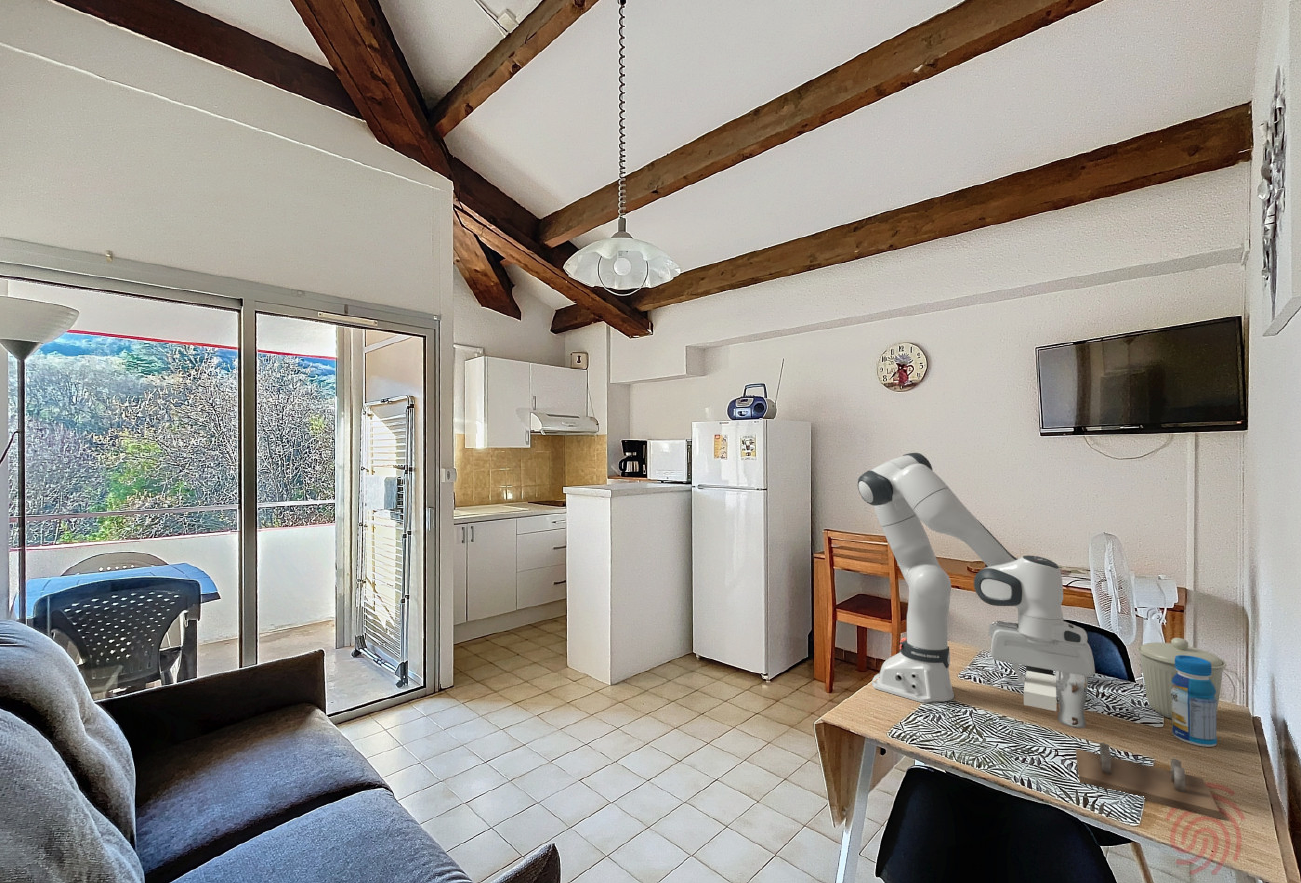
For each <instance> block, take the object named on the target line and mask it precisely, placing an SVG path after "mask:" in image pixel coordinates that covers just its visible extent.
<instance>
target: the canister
mask: <svg viewBox="0 0 1301 883" xmlns="http://www.w3.org/2000/svg"><path fill="white" fill-rule="evenodd" d="M1136 651H1137V652H1138V653H1139V656H1140V663H1141V670H1142V676H1143V683H1144V689H1145V695H1146V700H1147V702H1148V704H1149V707H1150V708H1151V709H1152V710H1153V711H1154V710H1155V711H1154V712H1155V713H1157V712H1158V713H1157V714H1159V715H1161V716H1163V717H1166V718H1168V719H1170V720H1172V697H1171V690H1172V688H1173V685H1172V684H1171V681H1172V678H1173V677H1174V675H1175V674H1176V673H1177V672H1178V671H1177V670H1176V668H1175V657H1176V656H1178V655H1186V656H1193V657H1198V658H1202V659H1205V660H1207V661H1209V662H1210V663H1211V665H1212V674H1211V676H1210V677H1208V678H1209V679H1210V680H1211V682H1212V683H1213V685H1214V687H1215V689H1216V694H1215V695H1214V696H1215V698H1216V700H1217V706H1216V714H1217V713H1218V711H1217V710H1218V708H1219V702H1220V700H1219V699H1220V694H1221V686H1222V678H1223V671H1224V669H1225V668H1226V667H1227V662H1226V660H1224V659H1222V658H1220V657H1219V656H1217V655H1215V654H1214V653H1212V652H1209V651H1207V650H1203V649H1201V648H1198V647H1193V646H1189V642H1188V641H1187V640H1186V639H1184V638H1181V637H1174V638H1172V639H1171V640H1170V642H1157V641H1156V642H1148V643H1144V644H1141V645H1139V646H1137V647H1136Z"/></svg>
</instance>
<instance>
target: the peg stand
mask: <svg viewBox="0 0 1301 883" xmlns="http://www.w3.org/2000/svg"><path fill="white" fill-rule="evenodd" d="M1099 751H1100V752H1099V753H1096V752H1091V751H1087V750H1083V749H1080V748H1079V749H1078V748H1076V749H1075V757H1076V758H1077V759H1076V765H1078V766H1077V772H1078V781H1080V782H1079V784H1082V783H1086V784H1091V785H1094V786H1098V787H1102V788H1104V789H1103V790H1105V789H1112V790H1116V791H1121V792H1125V793H1129V794H1133V795H1138V796H1144V798H1145V799H1146V800H1145V801H1148V802H1151V803H1156V804H1160V805H1164V806H1168V807H1171V808H1174V809H1175V808H1176V809H1179V810H1181V811H1182V810H1183V811H1187V812H1191V813H1194V814H1198V815H1202V816H1205V817H1206V816H1207V817H1210V818H1214V819H1217V820H1220V819H1221V818H1220V817H1221V816H1220V815H1221V814H1220V810H1219V807H1218V806H1217V804H1216V802H1215V800H1214V798H1213V796H1212V793H1211V792H1210V790H1209V788H1208V786H1207V784H1206V783H1205V780H1204V778H1203V777H1200V776H1199V777H1198V776H1194V775H1189V774H1186V771H1185V768H1183V767H1182V761H1180V760H1179V759H1177V758H1170V770H1169V769H1165V768H1161V767H1157V766H1151V765H1146V764H1143V763H1139V762H1133V761H1130V760H1126V759H1122V758H1118V757H1113V756H1112V752H1111V751H1110V745H1109V744H1107V743H1105V742H1101V743H1099Z"/></svg>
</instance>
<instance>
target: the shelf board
mask: <svg viewBox="0 0 1301 883" xmlns="http://www.w3.org/2000/svg"><path fill="white" fill-rule="evenodd" d="M1023 705H1024V706H1028V707H1033V708H1039V709H1044V710H1047V711H1053V712H1057V690H1056V676H1055V675H1054V674H1053V675H1048V674H1043V673H1037V672H1031V671H1026V670H1025V684H1024V687H1023Z"/></svg>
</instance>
